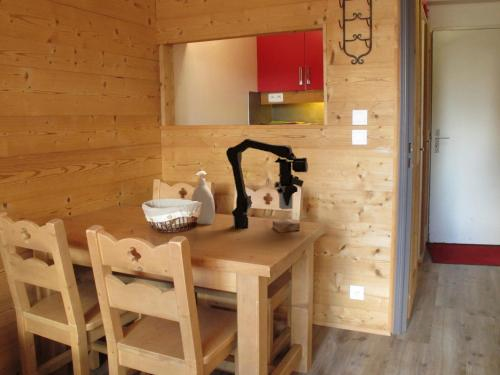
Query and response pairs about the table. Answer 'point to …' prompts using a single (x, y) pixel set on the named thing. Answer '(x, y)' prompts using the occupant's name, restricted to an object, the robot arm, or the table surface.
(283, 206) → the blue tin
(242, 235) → the table surface
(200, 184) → the soap bottle
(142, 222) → the table surface
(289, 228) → the walnut block
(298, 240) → the table surface
